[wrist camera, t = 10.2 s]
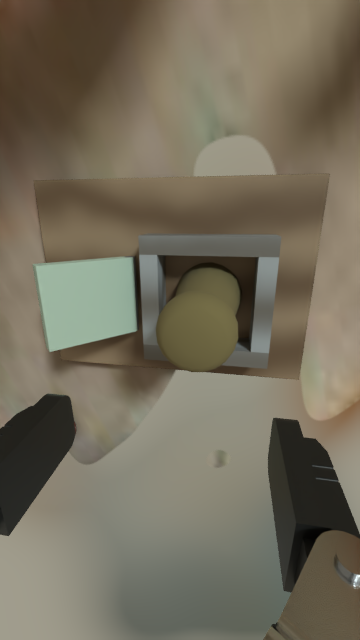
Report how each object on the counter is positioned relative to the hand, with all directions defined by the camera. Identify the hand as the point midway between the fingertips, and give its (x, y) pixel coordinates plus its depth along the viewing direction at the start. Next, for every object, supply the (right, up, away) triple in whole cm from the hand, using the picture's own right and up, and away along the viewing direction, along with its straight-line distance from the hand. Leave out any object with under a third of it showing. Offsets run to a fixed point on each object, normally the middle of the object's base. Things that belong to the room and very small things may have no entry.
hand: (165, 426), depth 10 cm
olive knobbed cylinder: (+3, +6, +17) cm, 18 cm away
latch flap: (-7, +6, +16) cm, 18 cm away
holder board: (0, +8, +19) cm, 20 cm away
